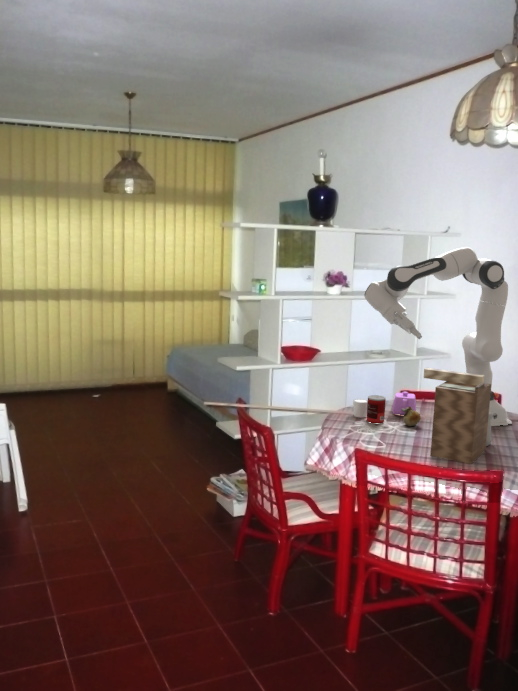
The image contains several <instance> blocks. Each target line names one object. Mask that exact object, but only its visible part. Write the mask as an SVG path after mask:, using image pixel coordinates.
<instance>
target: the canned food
mask: <svg viewBox="0 0 518 691" xmlns="http://www.w3.org/2000/svg"><path fill="white" fill-rule="evenodd" d="M386 400H387V399H386V396H383V395H376V394H373V395H369V396H367V401H368V402H367V415H366V422H367V421H368V422H371V423H382V424H383V422H385V415H386ZM368 422H367V423H368ZM371 423H370V424H371Z"/></svg>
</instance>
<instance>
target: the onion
mask: <svg viewBox="0 0 518 691" xmlns="http://www.w3.org/2000/svg"><path fill="white" fill-rule="evenodd" d="M401 410H402V411H403V412H406V413H405V414H404V416H402V420H403V423H404V424H405V426H408V427H414V426H417V425H418V423H420V421H421V419H422V417H421V414H420V413H419V412H417V410H416V411H414V410H412V409H411V407H407V408H406V409H403V408H402V409H401Z"/></svg>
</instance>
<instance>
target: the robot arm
mask: <svg viewBox="0 0 518 691" xmlns="http://www.w3.org/2000/svg"><path fill="white" fill-rule="evenodd" d="M432 275H433V277H435V278H436V279H437V280H439V281H441V282H442V281H449V280H452V279H454V278H456V277H459V276H461V275H462V277H463V278H464V279H465V281H467V282H468V283H471V284H475V285H478V286H480V287H481V295H480V297H479V301H478V305H477V310H476V313H475V323H476V324H475V325H476V331H475V332H471V333H467V334H466V335H465V336H464V337H463V339H462V342H461V346H462V349H463V351H464V352H463V353H464V360H465V361H464V362H465V373H470V374H478V375H485V376H484V383H489V384H491V388H492V385H493V384H492V383H493V371H492V369H491V364H490V363H492V362H496V361H498V360H499V359H500V358H501V357H502V355H503V351H504V350H503V345H502V340H501V339H502V323H503V318H504V315H505V311H506V306H507V301H508V295H509V285H508V282H507V281H506V280H505V270H504V267H503V265H502V264H501V263H500V262H499V261H497V260H493V259H492V260H491V259H488V258H478V257H477V253H476V252H475V250H474V249H472V248H471V247H468V246H465V247H461V248H456V249H452V250H450V251H447V252H444V253H442V254H440V255H438V256H435V257H432V258H428V259H426V260H422V261H420V262H416V263H413V264H411V265H396V266H394V267H392V268H391V269H389V271H388V272H387V278H386V279H384V280H381V281H372V282H371V283H370V284H369V285H368V286H367V288H366V289H365V291H364V296H363V297H364V299H365V300H366V302H368V304H369V305H370V306H371V307H372V308H373V309H374V310H375V311H377V312H379V313H380V315H381V316H382V317H383V319H385V320H386V321H387V323H388V324H390V325H396V326H398V327H399V328H401V329H402V330H404V331H405V332H406V333H407V334H409V335H411V334H412V335H413V336H414V337H415V338H417V339H418V340H421V339H422V338H423V336H422V332H420V331H419V330H418V329H417V328H416V325H415V324H414V322H413V321H412V320H411V319H410V318H409V317H408V316H407V315H408V314H407V312H406V311H407V308H406V307H405V306H403V304H402V303H401V302H399V301H400V300H402V299H403V298H404V297H405V296H406V294H407V293H408V290H409V288H410V287H411V285H412V284H413V283H414V282H415V281H417V280H420V279H423V278H426V277H429V276H432ZM495 398H496V399H499V398H500V394H499V393H498V392H494V391H492V390H491V394H490V405H489V412H490V413H491V414H492V419H490V423H491V427H500V425H503V426H509V425H508V424H512V425H513V423H512V420H510V419H509V418H508V416H507V415H508V414H507V411H506V408H505V407H504V406H503V405H501V404H500V403H499V402H498V401H497V400H496V399H495Z"/></svg>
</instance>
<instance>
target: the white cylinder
mask: <svg viewBox="0 0 518 691" xmlns="http://www.w3.org/2000/svg"><path fill="white" fill-rule="evenodd" d="M367 402H368V399H362V398H357V399H352V404H353V406H352V408H353V410H352V411H353V416H354V417H356V418H366V417H367ZM365 416H366V417H365Z"/></svg>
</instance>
